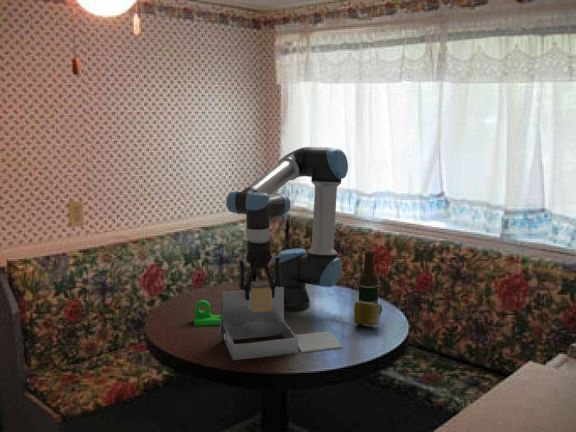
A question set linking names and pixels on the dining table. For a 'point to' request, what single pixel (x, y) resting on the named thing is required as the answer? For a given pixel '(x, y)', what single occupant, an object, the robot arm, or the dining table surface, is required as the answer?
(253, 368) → the dining table surface
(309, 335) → the pad
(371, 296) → the beer bottle
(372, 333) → the dining table surface
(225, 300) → the case
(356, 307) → the mug
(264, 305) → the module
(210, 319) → the mechanical part
